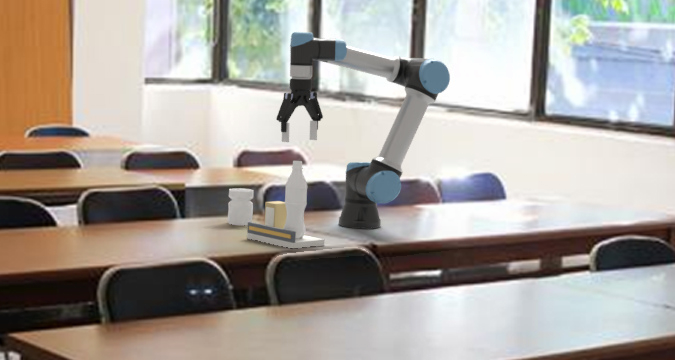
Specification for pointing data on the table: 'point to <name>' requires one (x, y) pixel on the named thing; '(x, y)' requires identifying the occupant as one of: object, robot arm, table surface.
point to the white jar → (240, 206)
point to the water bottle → (296, 200)
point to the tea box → (275, 214)
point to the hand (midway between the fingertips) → (299, 141)
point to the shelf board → (280, 236)
